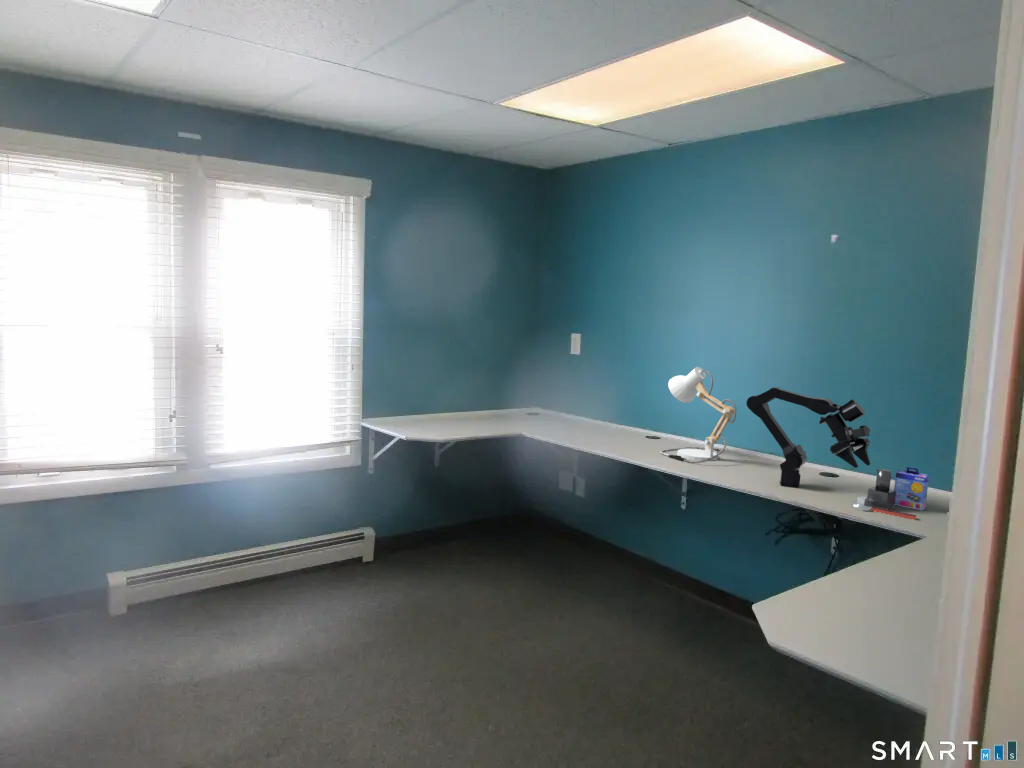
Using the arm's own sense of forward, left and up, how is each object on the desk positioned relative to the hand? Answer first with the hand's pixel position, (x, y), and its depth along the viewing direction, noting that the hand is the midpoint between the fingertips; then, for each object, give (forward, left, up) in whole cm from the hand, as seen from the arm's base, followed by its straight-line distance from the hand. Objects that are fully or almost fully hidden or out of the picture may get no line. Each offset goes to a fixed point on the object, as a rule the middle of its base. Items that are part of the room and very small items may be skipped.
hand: (863, 466), depth 247 cm
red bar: (+5, -13, -13) cm, 19 cm away
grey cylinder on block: (+6, -4, -13) cm, 15 cm away
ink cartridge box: (+16, +1, -13) cm, 21 cm away
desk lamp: (-59, +48, -13) cm, 77 cm away
